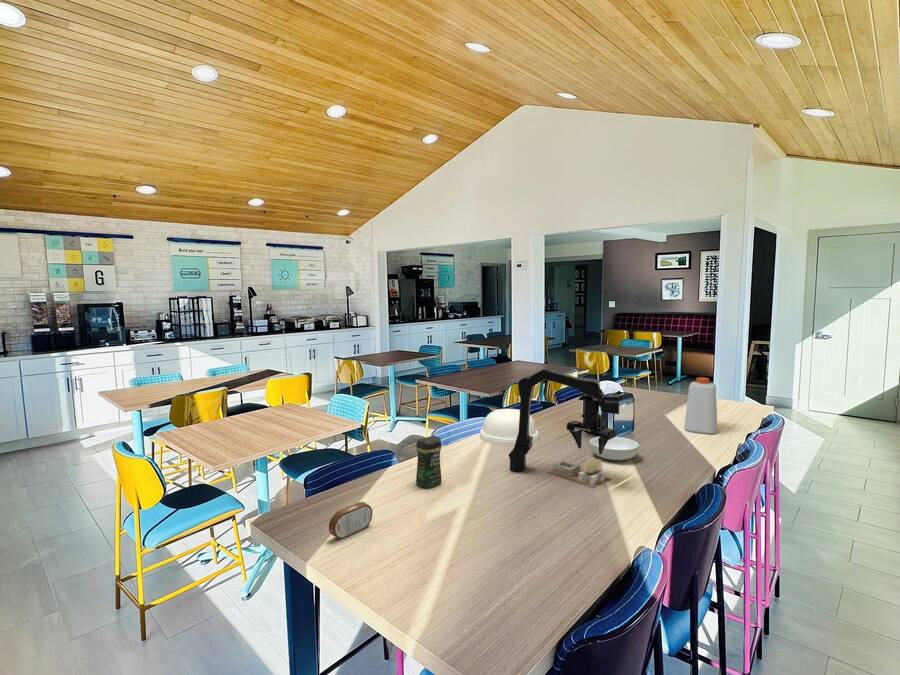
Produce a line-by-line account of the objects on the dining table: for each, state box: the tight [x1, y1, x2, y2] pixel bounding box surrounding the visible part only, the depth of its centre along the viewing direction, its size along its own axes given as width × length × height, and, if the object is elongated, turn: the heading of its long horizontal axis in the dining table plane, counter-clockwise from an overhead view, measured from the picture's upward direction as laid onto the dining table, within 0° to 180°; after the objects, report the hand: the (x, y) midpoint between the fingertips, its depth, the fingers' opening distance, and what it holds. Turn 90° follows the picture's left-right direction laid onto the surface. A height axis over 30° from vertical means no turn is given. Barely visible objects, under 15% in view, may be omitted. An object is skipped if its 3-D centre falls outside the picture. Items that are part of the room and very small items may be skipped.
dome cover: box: [479, 408, 540, 448], centre depth 247 cm, size 32×30×14 cm
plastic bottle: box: [683, 376, 718, 435], centre depth 258 cm, size 15×15×28 cm
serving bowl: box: [589, 436, 640, 461], centre depth 217 cm, size 21×21×7 cm
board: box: [545, 459, 613, 489], centre depth 193 cm, size 13×22×4 cm, turn 43°
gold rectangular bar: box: [582, 458, 602, 475], centre depth 188 cm, size 2×10×7 cm, turn 133°
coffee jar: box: [415, 435, 442, 489], centre depth 187 cm, size 10×8×19 cm
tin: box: [328, 501, 373, 539], centre depth 150 cm, size 15×3×8 cm, turn 138°
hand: (590, 451), depth 189 cm, fingers open, 9 cm apart
